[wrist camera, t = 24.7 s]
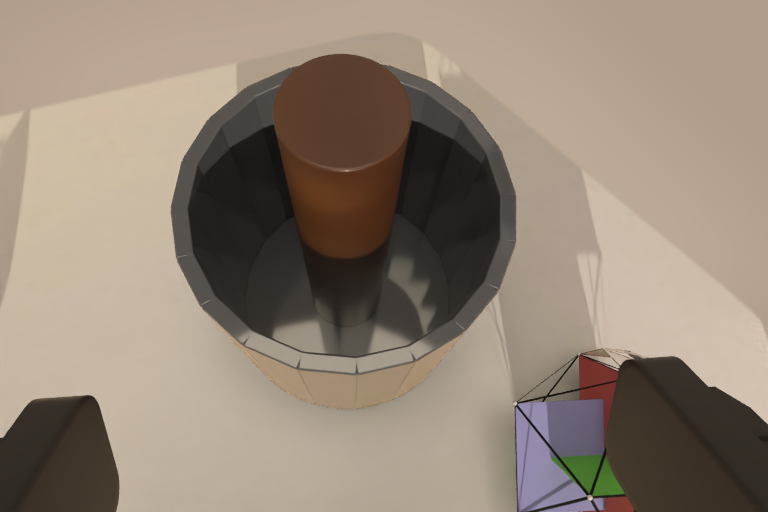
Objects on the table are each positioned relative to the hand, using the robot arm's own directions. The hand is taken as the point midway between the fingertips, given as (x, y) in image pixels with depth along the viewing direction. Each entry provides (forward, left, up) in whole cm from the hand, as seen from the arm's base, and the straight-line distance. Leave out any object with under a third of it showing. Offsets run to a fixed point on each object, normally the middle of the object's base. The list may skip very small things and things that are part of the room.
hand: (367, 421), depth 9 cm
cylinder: (+1, +6, -15) cm, 17 cm away
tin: (+1, +7, -16) cm, 17 cm away
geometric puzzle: (+9, -2, -16) cm, 18 cm away
